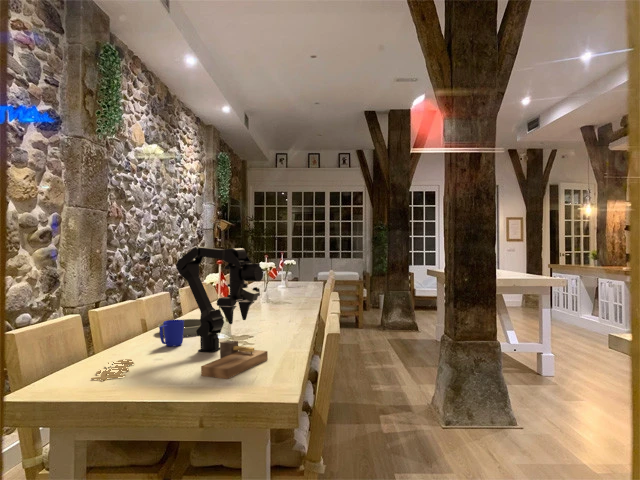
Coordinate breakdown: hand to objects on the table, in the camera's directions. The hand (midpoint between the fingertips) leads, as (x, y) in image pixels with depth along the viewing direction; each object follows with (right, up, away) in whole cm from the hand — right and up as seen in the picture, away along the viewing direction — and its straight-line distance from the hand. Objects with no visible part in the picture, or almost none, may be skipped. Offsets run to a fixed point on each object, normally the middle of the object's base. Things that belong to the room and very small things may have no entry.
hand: (237, 322), depth 175 cm
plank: (+3, -12, -19) cm, 23 cm away
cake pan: (-34, -13, +46) cm, 58 cm away
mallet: (+2, -12, -11) cm, 16 cm away
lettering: (-38, -13, -20) cm, 45 cm away
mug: (-30, -13, +15) cm, 36 cm away
